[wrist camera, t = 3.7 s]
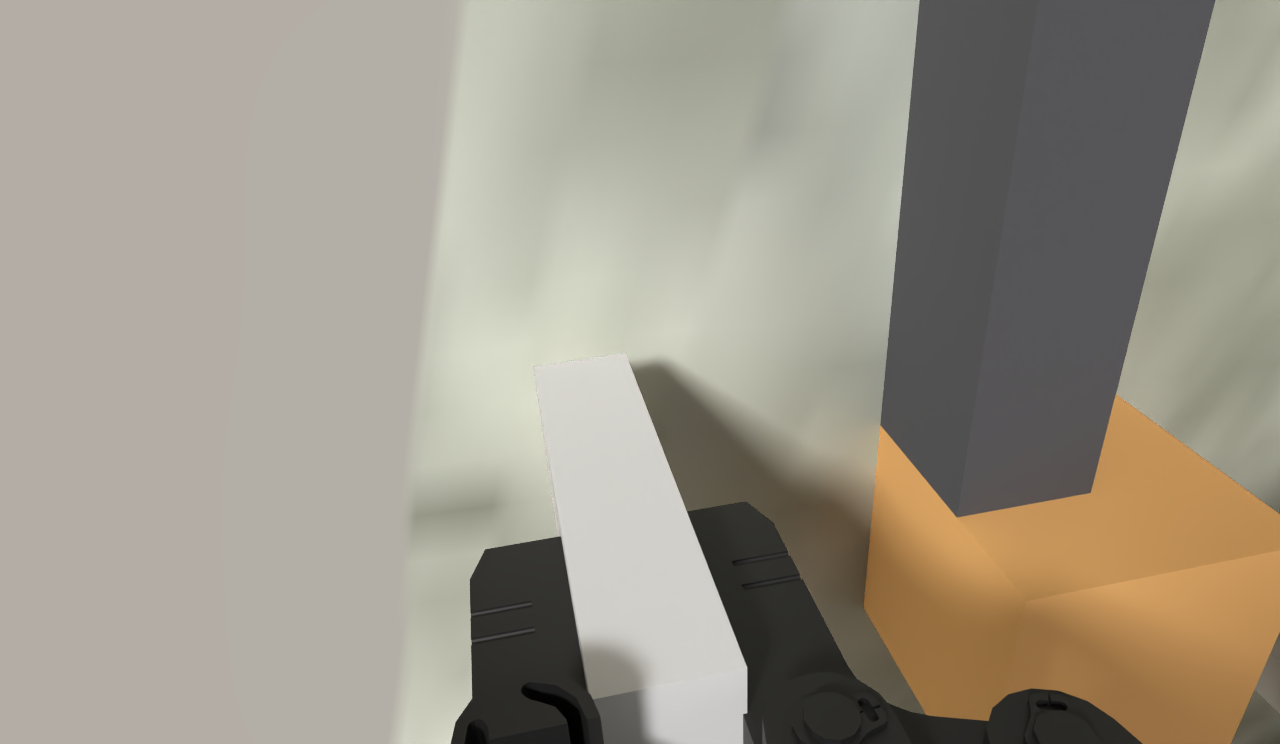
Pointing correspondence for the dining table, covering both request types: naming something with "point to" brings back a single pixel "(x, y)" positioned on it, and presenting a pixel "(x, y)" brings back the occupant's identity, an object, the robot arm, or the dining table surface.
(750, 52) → the dining table surface
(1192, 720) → the grey and orange bar
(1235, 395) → the dining table surface
